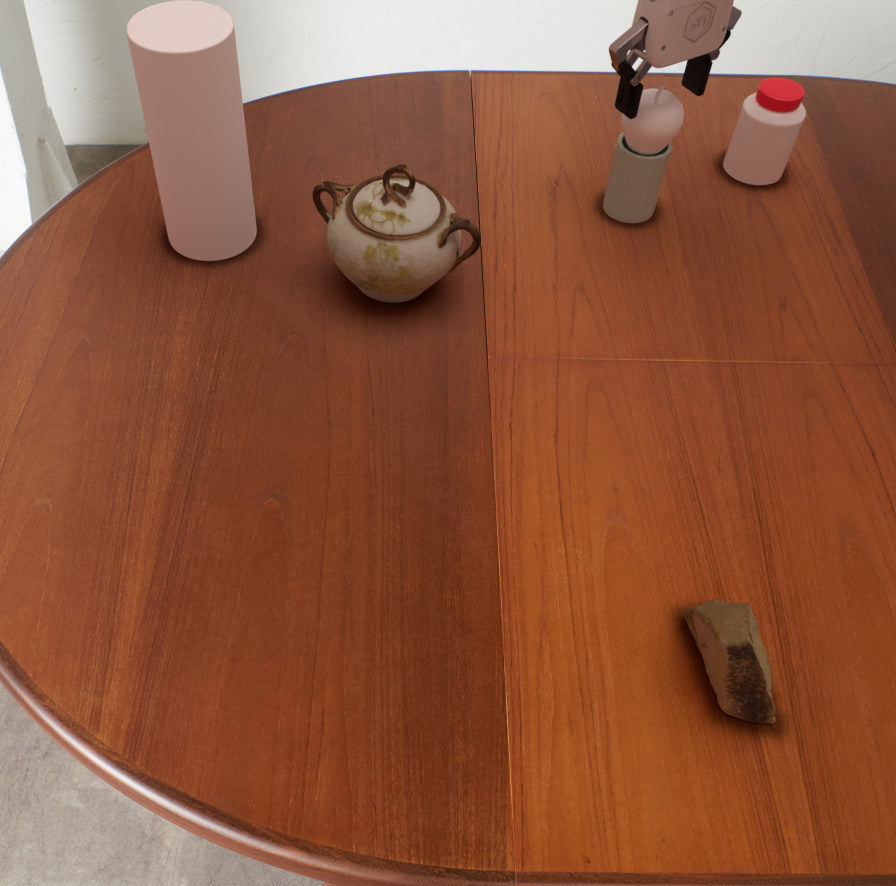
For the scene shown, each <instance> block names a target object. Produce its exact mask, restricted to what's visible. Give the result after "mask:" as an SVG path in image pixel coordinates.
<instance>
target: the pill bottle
mask: <svg viewBox="0 0 896 886" xmlns="http://www.w3.org/2000/svg"><path fill="white" fill-rule="evenodd" d="M805 91H806V90H805V88H804V87H803V86H802V85H801V84H800V83H798V82H797V81H795V80H793V79H790V78H787V77H781V76H780V77H779V76H771V77H766V78H764V79H762V80H760V82H759V84H758V86H757V90H756V91H755V92H753V93H752V94H750V95H748V96H746V98H745V99H744V100H743V103H742V105H741V107H740V111H739V114H738V117H737V120H736V122H735V126H734V127H733V131H732V135H731V137H730V141H729V143H728V146H727V149H726V152H725V156H724V158H723V161H722V167H723V169H724V171H725V172H726V173H727V175H729V176H730V177H731V178H733V179H734V180H736V181H738V182H741V183H743V184H747V185H751V186H767V185H768V186H769V185H772V184H774V183H777V182H778V181H779V180H780V179H781V178H782V177H783V175H784V172H785V169H786V167H787V164H788V162H789V160H790V157H791V154H792V152H793V149H794V147H795V144H796V143H797V140H798V137H799V134H800V132H801V130H802V128H803V124H804V122H805V119H806V118H807V117H806V116H807V110H806V108H805V106H804V104H803V100H804V97H805V94H806V92H805Z"/></svg>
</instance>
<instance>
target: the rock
mask: <svg viewBox="0 0 896 886" xmlns="http://www.w3.org/2000/svg"><path fill="white" fill-rule="evenodd" d="M683 616H684V619H685V622H686V624H687V626H688V629H689V631H690V633H691V634H692V637H693V638H694V641H695V644H696V646H697V649H698V652H699V653H700V655H701V657H702V660H703V663H704V668H705V672H706V674H707V676H708V679H709V682H710V685H711V686H712V688H713V691H714V693H715V694H716V701H717V704H718V706H719V708H720V709H721V711H722V712H724V714H727V715H729V716H731V717H734V718H737V719H739V720H743V721H746V722H749V723H753V724H771V725H773V724H775V722H776V721H777V719H776V717H775V715H776V712H777V708H776V705H775V702H774V700H773V694H772V690H773V689H772V688H773V681H772V679H773V678H772V674H771V672H772V669H771V663H770V660H769V657H768V652H767V650H766V647H765V646H764V643H763V642H762V638H761V636H760V632H759V627H758V622H757V619H756V617H755V616H754V614H753V611H752V606H751V604H750V603H749V602H743V603H741V602H740V603H737V602H732V601H729V602H727V601H721V599H719V598H714V599H710V600H708V601H706V602H704V603H701V604H698V605H694V606H691V607H686V608H685V610H684V614H683Z"/></svg>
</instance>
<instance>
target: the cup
mask: <svg viewBox="0 0 896 886" xmlns="http://www.w3.org/2000/svg"><path fill="white" fill-rule="evenodd" d="M672 152H673V143H672V140H671V141H670V142H669V143H668V145H667V146H666V147H665V148H664V149H662V150H661V151H660V152H658V153H657V154H654V155H641V154H638V153H636V152H634V151H633V150H631V149H630V148H629V146H628V145H627V142H626V139H625V135H624V131H623V132H621V133H620V134H619V135H618V136H617V141H616V146H615V149H614V154H613V158H612V163H611V166H610V170H609V176H608V180H607V184H606V187H605V192H604V196H603V200H602V209H603V211H604V213H605V214H606V215H607V216H608V217H610V218H611V219H613V220H615V221H618V222H620V223H624V224H639V223H643V222H646V221H648V220H649V219H651V218H652V216H653V215H654V212H655V210H656V206H657V203H658V199H659V196H660V193H661V189H662V185H663V182H664V179H665V176H666V171H667V169H668V164H669V161H670V158H671V154H672Z"/></svg>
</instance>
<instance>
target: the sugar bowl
mask: <svg viewBox="0 0 896 886" xmlns="http://www.w3.org/2000/svg"><path fill="white" fill-rule="evenodd" d="M323 192H326V193H328V194H329V195H330V196H331V199H332V201H333V202H332V203H333V206H332V212H331V213H330V211H328V209H327V208H326V206H325V204H324V202H323V200H322V199H321V195H322V193H323ZM338 192H341V193H343V194H344V195H343V196H342V197H340V195H339V193H338ZM311 195H312V200H313V204H314V207H315V208H316V210H317V213H319V215H320V216H321V218H322V219H323V220H324V221H325V223H326V224H327V229H326V232H327V233H326V238H327V239H326V240H327V244H328V248H329V249H328V250H329V253H330V255H331V257H332V260H333V261H334V263H335V264H336V266H337V268H338V269H339V270H340V272H341V273H342V274H343V275H344V276H345V278H347V279H348V280H349V281H350V282H351V283H352V284H354V285H355V286H356V287H357V288H358V289H359V291H361V292H362V294H364V295H366V296H367V297H369V298H371V299H373V300H376V301H379V302H382V303H392V304H393V303H395V304H396V303H404V302H407V301H411V300H413V299H416V298H417V297H419V296H420V295H421V294H422V293H423V292H425V291H426V290H427V289H429V288H431V287H432V286H433V285H435V284H436V283H437V282H438V281H440V280H441V279H442V278H443V277H444V276H445V275H448V274H450V273H452V272H454V270H455V269H456V268H457V267H458V266H460V265H461V264H462V263H463V262H464V261H466V260H467V259H469V258H472V256H474V255H475V254H476V253H477V252H478V251H479V249H480V247H481V244H482V236H481V232H480V231H479V228H478V227H477V225H476V224H475V223H474V221H472V219H468V218H465V217H464V218H463V217H460V216H459V214H458V213H457V211H456V209H455V208H454V207H453V205H452V204H451V203H450V201H449V200H448V199H447V198H446V196H444V195H443V194H442V193H440V192H439V190H437V189H436V188H435V187H434V186H432V185H431V184H429V183H428V182H426V181H423V180H421V179H419V178H416V177H415V174H414V173H413V171H412V170H411V169H410V168H409V166H408V165H407V164H405V163H398V164H396V165H393V166H391V167H389V168H387V169H386V170H385V171H384V173H383V174H382V175H375V176H373V177H370V178H367V179H365V180H363V181H361V182H359V184H354V183H353V184H342V183H338V182H333V181H329V180H323V181H321V182H319V183H318V184H316V185H315V187H313V190H312V194H311ZM462 231H465V232H467V233H469V234H470V236H471V238H472V242H471V244H470V246H468V248H466V249H465V250H463V251H462V252H460V249H461V245H462V244H461V243H462Z"/></svg>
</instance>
